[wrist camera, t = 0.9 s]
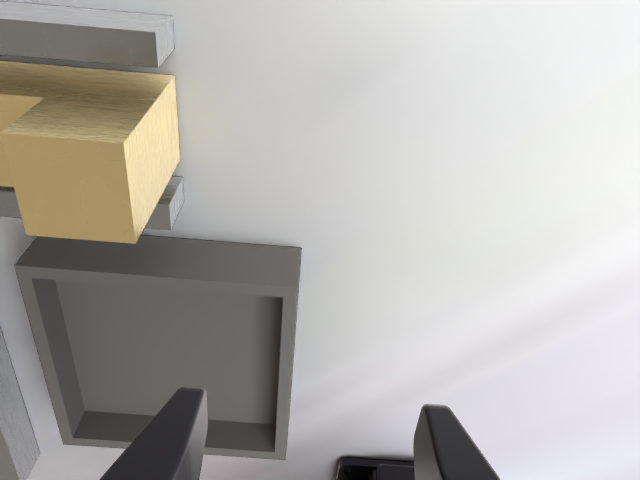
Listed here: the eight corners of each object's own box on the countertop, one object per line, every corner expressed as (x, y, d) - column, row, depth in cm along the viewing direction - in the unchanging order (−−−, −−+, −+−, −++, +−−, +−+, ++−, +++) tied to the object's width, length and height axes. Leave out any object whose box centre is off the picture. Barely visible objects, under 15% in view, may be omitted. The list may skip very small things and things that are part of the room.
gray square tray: (289, 415, 28) (285, 460, 26) (83, 400, 28) (63, 444, 25) (301, 247, 22) (298, 287, 20) (44, 227, 22) (14, 265, 20)
